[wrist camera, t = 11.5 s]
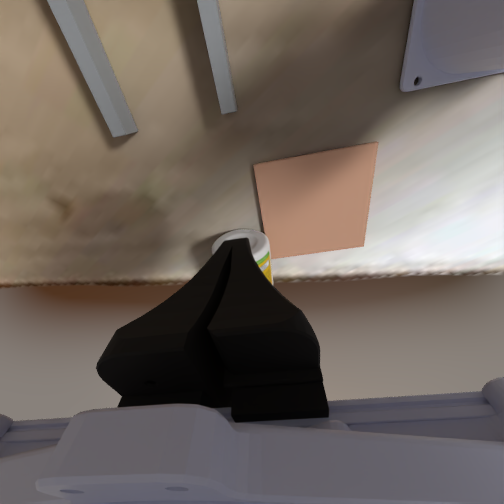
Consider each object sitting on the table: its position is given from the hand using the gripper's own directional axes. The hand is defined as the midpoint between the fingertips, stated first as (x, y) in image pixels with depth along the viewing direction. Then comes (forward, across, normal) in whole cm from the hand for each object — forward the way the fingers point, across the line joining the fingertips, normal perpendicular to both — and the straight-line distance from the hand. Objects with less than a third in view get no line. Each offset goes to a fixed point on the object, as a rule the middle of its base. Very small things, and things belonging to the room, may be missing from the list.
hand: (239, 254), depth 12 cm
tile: (+10, -6, +3) cm, 12 cm away
